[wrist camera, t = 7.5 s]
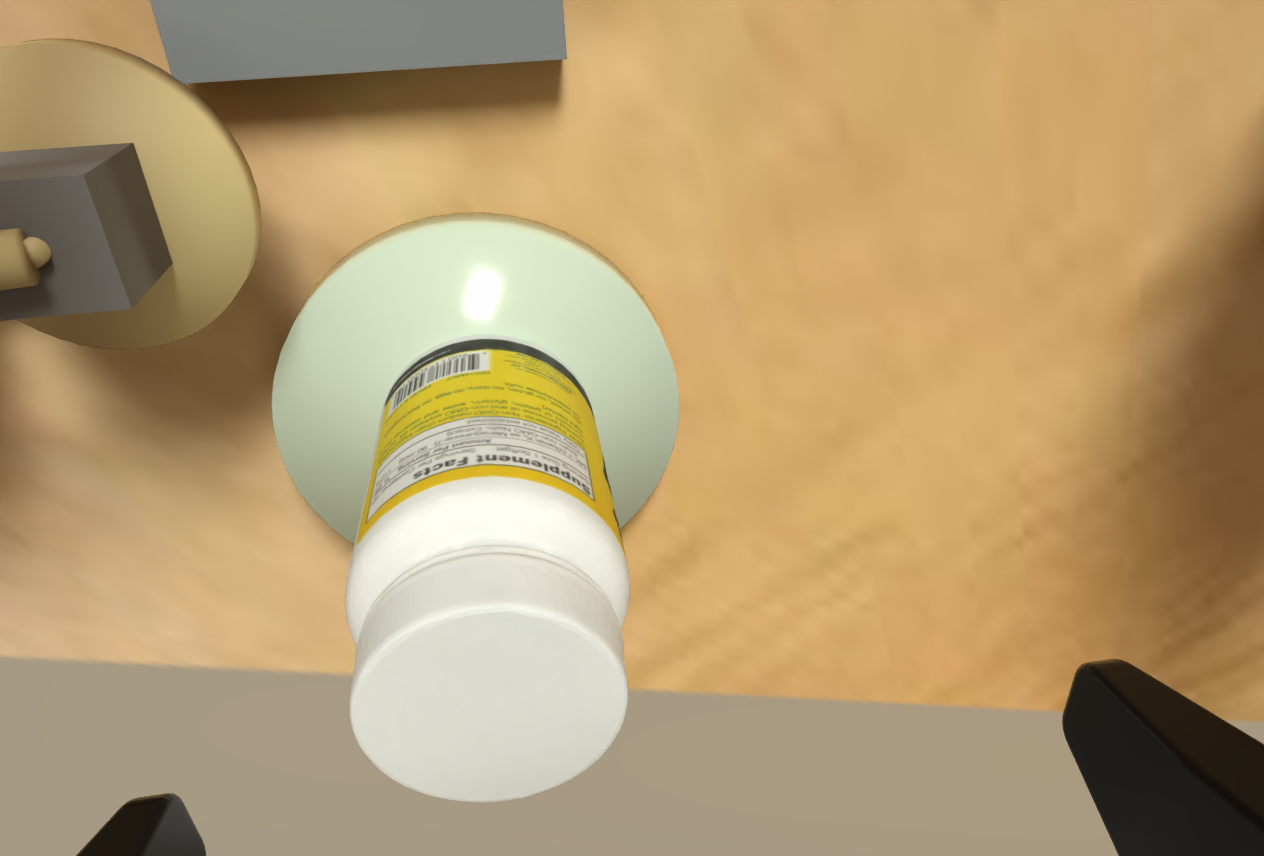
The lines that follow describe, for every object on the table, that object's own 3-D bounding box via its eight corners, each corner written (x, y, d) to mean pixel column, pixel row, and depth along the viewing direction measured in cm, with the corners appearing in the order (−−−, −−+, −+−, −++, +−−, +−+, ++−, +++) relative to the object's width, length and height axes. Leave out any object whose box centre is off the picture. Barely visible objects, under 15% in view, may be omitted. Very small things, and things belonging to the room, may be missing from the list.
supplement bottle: (549, 531, 21) (579, 843, 14) (355, 480, 20) (280, 799, 13) (627, 366, 19) (709, 631, 12) (419, 295, 18) (372, 550, 11)
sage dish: (666, 196, 19) (676, 211, 18) (672, 528, 23) (681, 556, 22) (235, 230, 18) (219, 250, 17) (330, 569, 22) (323, 600, 21)
